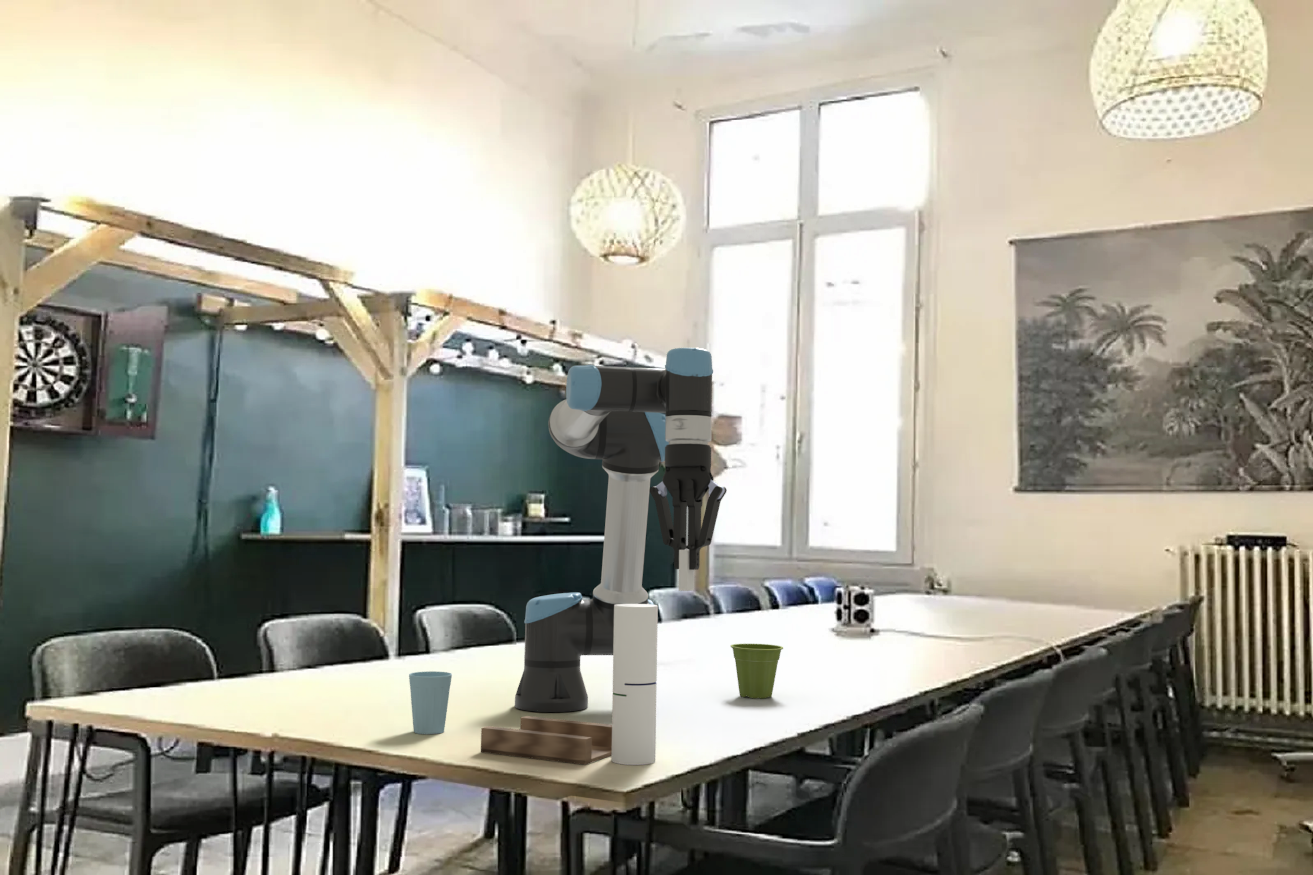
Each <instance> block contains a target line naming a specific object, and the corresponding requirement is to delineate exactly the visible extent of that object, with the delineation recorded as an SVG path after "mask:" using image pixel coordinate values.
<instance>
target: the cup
mask: <svg viewBox="0 0 1313 875" xmlns="http://www.w3.org/2000/svg"><path fill="white" fill-rule="evenodd" d="M452 676H453V675H452V673H451V672H447V671H433V670H432V671H430V670H429V671H417V672H411V673H409V674H408V677H409V678H408V679H409V688H410V689H409V690H410V700H411V701H410V703H411V713H412V714H411V715H412V727H413V728H412V730H413V733H414V732H415V734H419V735H436V734H437V735H439V734H441V733H444V732H445V727H446V721H447V720H446V719H447V714H448V713H447V712H448V705H449V696H450V688H451V684H452Z"/></svg>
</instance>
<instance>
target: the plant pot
mask: <svg viewBox="0 0 1313 875" xmlns="http://www.w3.org/2000/svg"><path fill="white" fill-rule="evenodd" d="M730 648H731V649H732V652H733V658H734V661H735V670H736V677H737V684H738V685H737V686H738V691H739V693H738V694H739V696H740V697H742V698H746V697H748V698H750V699H754V700H755V699H760V700H763V699H767V698H772V696H773V691H774V686H775V679H776V674H777V668H778V663H779V660H780V657H781V652H782V650H784V646H782V645H776V644H768V643H735V644H730Z"/></svg>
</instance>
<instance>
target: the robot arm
mask: <svg viewBox="0 0 1313 875" xmlns="http://www.w3.org/2000/svg"><path fill="white" fill-rule="evenodd" d="M666 353H667V354H666V361H665V365H664V368H654V367H653V368H651V367H627V366H626V367H624V366H622V367H621V366H608V365H607V366H606V365H594V364H586V365H585V364H584V365H572V366H571V367H570V368H569V370H568V371H567V372H568V373H567V377H566V385H565V386H566V388H565V389H566V390H565V392H566V393H565V395H566V397H565V398H566V399H564V400H561V401H560V402H559V403H557V404H556V405H555V406H554V408H553V409H552V410H551V412H550V415H549V417H548V422H547V423H548V431H549V432H548V433H549V434H550V437H551V439H553V441H554V442H555V444H556V445H557V446H558V447H560V448H561V449H562V450H563V451H565V452H567V453H569V454H570V455H572V456H575V457H578V458H583V459H586V460H587V459H590V460H602V462H601V467H602V470H604V472H606V473H607V474H608V482H607V483H608V484H607V496H606V497H607V499H606V510H605V520H604V522H605V526H604V538H603V552H602V563H601V565H602V566H601V577H600V579H601V580H600V583H599V584H598V585H597V586H596V587H594V589H593V591H592V599H591V598H590V599H583V595H582V593H581V592H573V591H572V592H563V593H554V594H547V595H541V596H536V597H533V598H531V599H529V600H528V601H527V603H526V606H525V616H524V618H525V619H524V620H523V621H524V622H523V623H524V624H525V625H524V626H525V628H524V629H525V631H524V632H525V633H524V634H525V635H524V660H523V661H524V664H523V668H524V669H523V671H522V675H521V678H520V680H519V684H518V687H517V688H516V689H517V690H516V692H515V695H514V708H515V709H519V710H522V711H528V712H539V713H540V712H541V713H564V712H565V713H566V712H575V711H581V710H585V709H587V708H589V695H588V692H587V689H586V685H585V682H584V679H583V675H582V671H581V656H613V643H614V605H616V604H651V605H655V603H654V602H653V601H652V600H651V599H649V594H648V592H647V590H645V588H644V587H643V585H642V584H643V574H644V563H645V550H646V535H647V526H648V525H647V524H648V513H649V500H650V495H651V497H652V498H653V500H654V503H655V508H656V514H657V518H658V521H659V522H658V523H659V528H660V533H661V538H662V541H663V542H662V543H663V544H664V545H665V546H669V547H671V548H673V551H674V552H673V553H674V555H673V556H674V559H673V565H674V569H675V570H678V591H680V592H682V591H683V592H689V591H690V592H692V591H695V571H696V570H699V569H700V552H701V550H702V548H704V547H707V546H710V545H711V544H712V540H713V536H714V533H715V532H714V531H715V528H716V527H715V526H716V523H717V518H718V514H719V510H720V506H721V501H722V500H723V499H724V497H725V495H726V494H727V488H726V487H725V486H721V485H719V484H718V483H717V482H715V481H714V477H713V476H714V475H713V474H712V471H711V470H712V469H711V468H712V447H711V445H709V444H708V443H710V442H712V408H713V407H712V404H713V403H712V401H713V399H712V396H713V392H712V391H713V373H714V369H713V361H712V353H711V352H710V351H709V350H708V349H704V348H699V347H677V348H675V347H674V348H672V349H669V351H667V352H666ZM660 462H661V463H663V462H664V468H665V470H664V471H665V472H664V473H663V477H662V481H661V482H659V483H658V484H657V485H655V486H651V479H652V477H654V476H655V475H656V474H657V473H658V472H659V468H660V467H659V466H660ZM650 486H651V487H650ZM707 492H708V496H709V497H708V499H707V502H706V505H705V510H704V514H703V519H702V507H703V498H704V496H705V495H706V494H707ZM668 493H669V494H670V496H671V498H672V501H671V502H672V506H673V517H672V514H671V509H670V503H669V500H668V496H667V495H668Z"/></svg>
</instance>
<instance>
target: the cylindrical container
mask: <svg viewBox="0 0 1313 875" xmlns="http://www.w3.org/2000/svg"><path fill="white" fill-rule="evenodd" d="M658 607H659V606H658V605H657V604H654V605H651V604H616V605H614V643H613V655H612V707H611V708H612V709H611V710H612V711H611V714H612V715H611V716H612V718H611V725H612V755H611V756H610V757H611V759H610V760H611V762H612V763H614V764H619V765H626V766H627V765H628V766H642V765H643V766H644V765H649V764H653V763H655V762H656V754H657V753H656V748H657V747H656V744H657V741H656V740H657V735H656V734H657V684H658V683H657V680H658V679H657V678H658V672H657V671H658V670H657V669H658V619H659V617H658V612H659V610H658Z"/></svg>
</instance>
